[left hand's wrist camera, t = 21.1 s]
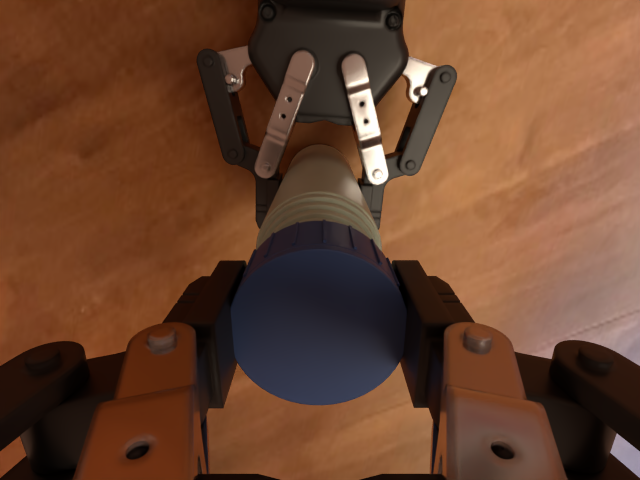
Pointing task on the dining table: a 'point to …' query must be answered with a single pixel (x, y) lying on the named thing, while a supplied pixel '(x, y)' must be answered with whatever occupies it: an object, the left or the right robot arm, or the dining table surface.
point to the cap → (318, 314)
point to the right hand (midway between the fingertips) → (317, 236)
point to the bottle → (319, 195)
